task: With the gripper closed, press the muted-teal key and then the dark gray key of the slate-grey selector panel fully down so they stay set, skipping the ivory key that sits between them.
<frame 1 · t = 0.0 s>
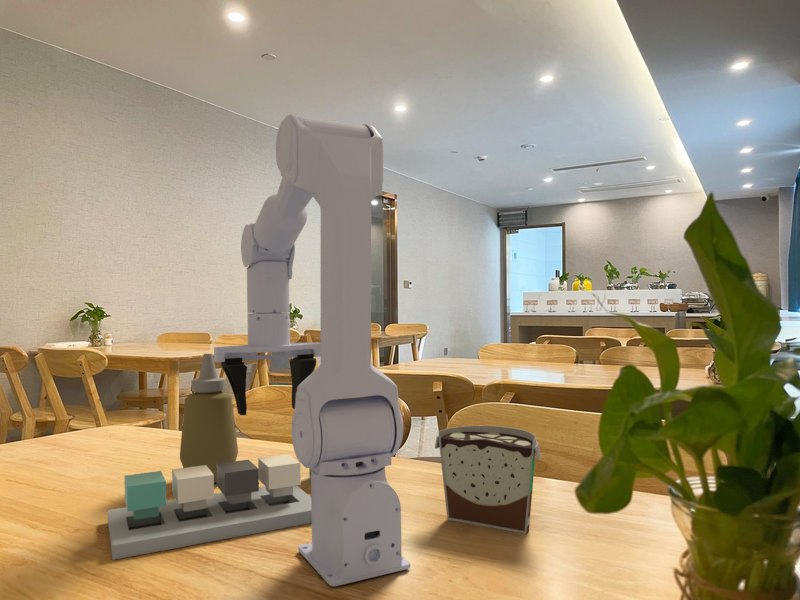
hand: (269, 411, 84), 10 cm above the table, fingers open, 7 cm apart
food container: (495, 519, 70), on the table
supplement bottle: (328, 479, 87), on the table
teal key: (144, 495, 67), point 4 cm above the table, slide at 0.0 cm
dark gray key: (237, 482, 71), point 4 cm above the table, slide at 0.0 cm
selector panel: (215, 521, 70), on the table
near ivory key: (279, 476, 74), point 4 cm above the table, slide at 0.0 cm
middle ivory key: (192, 488, 69), point 4 cm above the table, slide at 0.0 cm
squeeze bottle: (209, 481, 87), on the table
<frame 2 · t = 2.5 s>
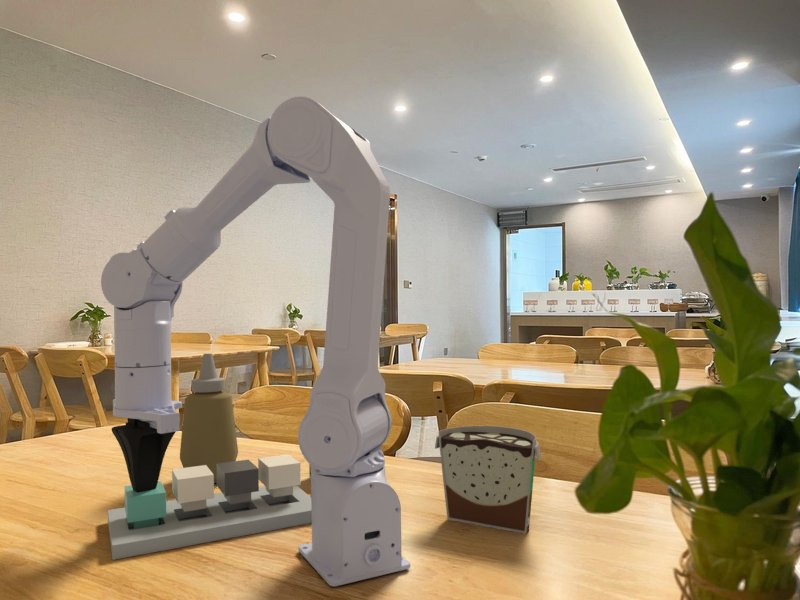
hand: (144, 489, 67), 5 cm above the table, fingers closed, pressing on teal key
teal key: (145, 506, 67), point 3 cm above the table, slide at 1.2 cm, touching gripper
everything else where it was.
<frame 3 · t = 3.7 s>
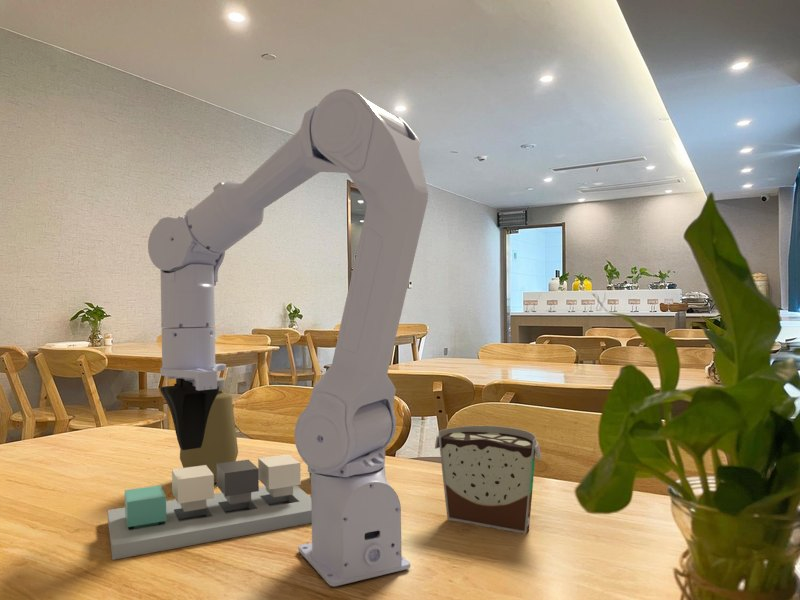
hand: (190, 447, 69), 9 cm above the table, fingers closed
teal key: (145, 510, 67), point 2 cm above the table, slide at 1.6 cm
everything else where it was.
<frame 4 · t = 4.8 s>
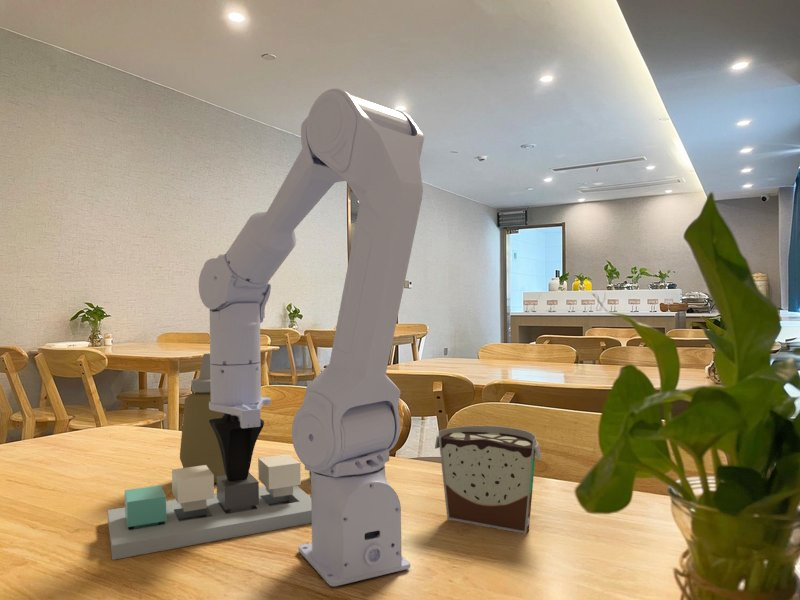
hand: (237, 479, 71), 4 cm above the table, fingers closed, pressing on dark gray key
dark gray key: (237, 495, 71), point 3 cm above the table, slide at 1.5 cm, touching gripper
everything else where it was.
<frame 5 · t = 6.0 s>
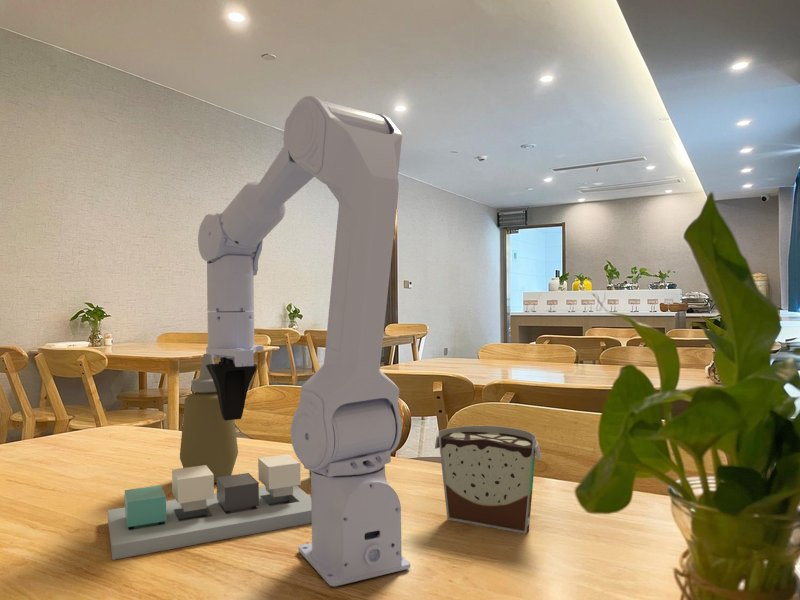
hand: (232, 419, 78), 10 cm above the table, fingers closed
dark gray key: (237, 496, 71), point 2 cm above the table, slide at 1.6 cm
everything else where it was.
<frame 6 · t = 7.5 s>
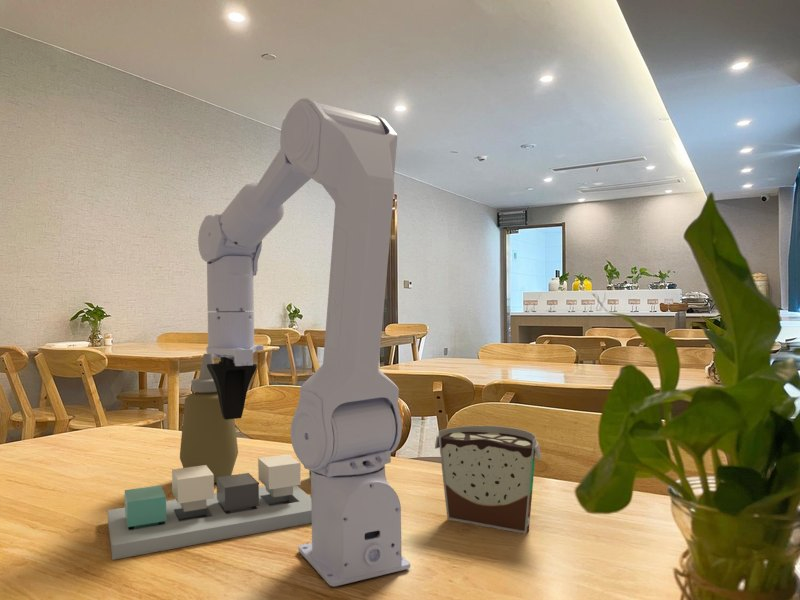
hand: (232, 418, 78), 10 cm above the table, fingers closed
nothing on the table moved.
at the end: teal key slide at 1.6 cm; dark gray key slide at 1.6 cm; middle ivory key slide at 0.0 cm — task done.
